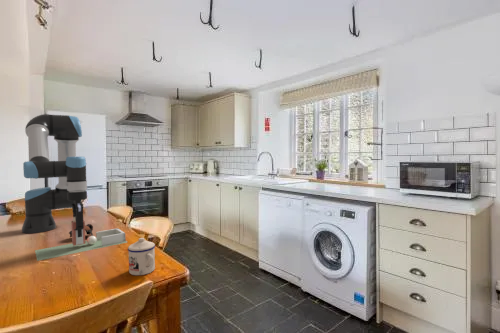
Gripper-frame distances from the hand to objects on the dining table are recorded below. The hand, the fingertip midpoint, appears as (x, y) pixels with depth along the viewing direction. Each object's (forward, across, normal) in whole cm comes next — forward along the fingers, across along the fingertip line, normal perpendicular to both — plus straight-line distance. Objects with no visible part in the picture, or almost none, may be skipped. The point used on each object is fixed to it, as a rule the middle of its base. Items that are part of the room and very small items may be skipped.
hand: (78, 242), depth 123 cm
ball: (0, 0, +5) cm, 5 cm away
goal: (+2, -1, +13) cm, 13 cm away
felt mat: (+2, 0, +2) cm, 3 cm away
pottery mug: (+3, -16, +4) cm, 16 cm away
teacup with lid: (+3, +45, +14) cm, 48 cm away
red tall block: (0, 0, 0) cm, 1 cm away
